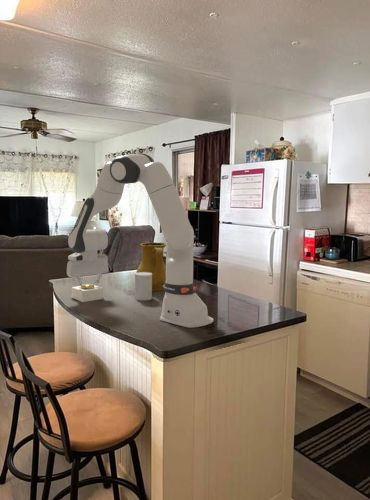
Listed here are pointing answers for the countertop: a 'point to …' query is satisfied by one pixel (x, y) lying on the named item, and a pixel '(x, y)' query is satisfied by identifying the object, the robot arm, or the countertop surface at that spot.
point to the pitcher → (153, 263)
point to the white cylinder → (143, 286)
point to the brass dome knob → (87, 286)
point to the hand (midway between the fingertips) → (88, 284)
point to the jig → (87, 293)
